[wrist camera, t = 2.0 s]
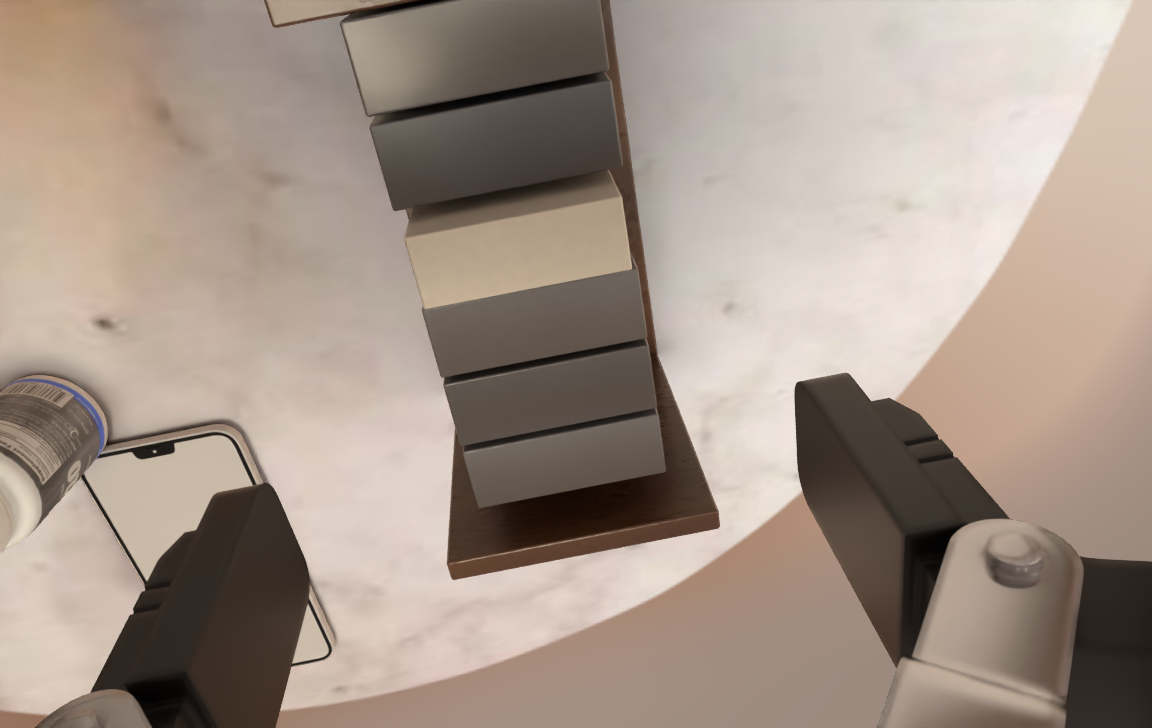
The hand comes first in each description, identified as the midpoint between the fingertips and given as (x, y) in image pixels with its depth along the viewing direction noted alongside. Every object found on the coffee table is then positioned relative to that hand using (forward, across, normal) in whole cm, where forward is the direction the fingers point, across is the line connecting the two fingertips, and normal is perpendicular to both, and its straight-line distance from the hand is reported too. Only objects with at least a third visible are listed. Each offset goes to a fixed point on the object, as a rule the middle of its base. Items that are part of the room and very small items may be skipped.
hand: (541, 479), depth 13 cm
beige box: (+22, 0, 0) cm, 22 cm away
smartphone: (+22, +18, +17) cm, 34 cm away
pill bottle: (+22, +22, +8) cm, 32 cm away
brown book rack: (+22, 0, +2) cm, 23 cm away
